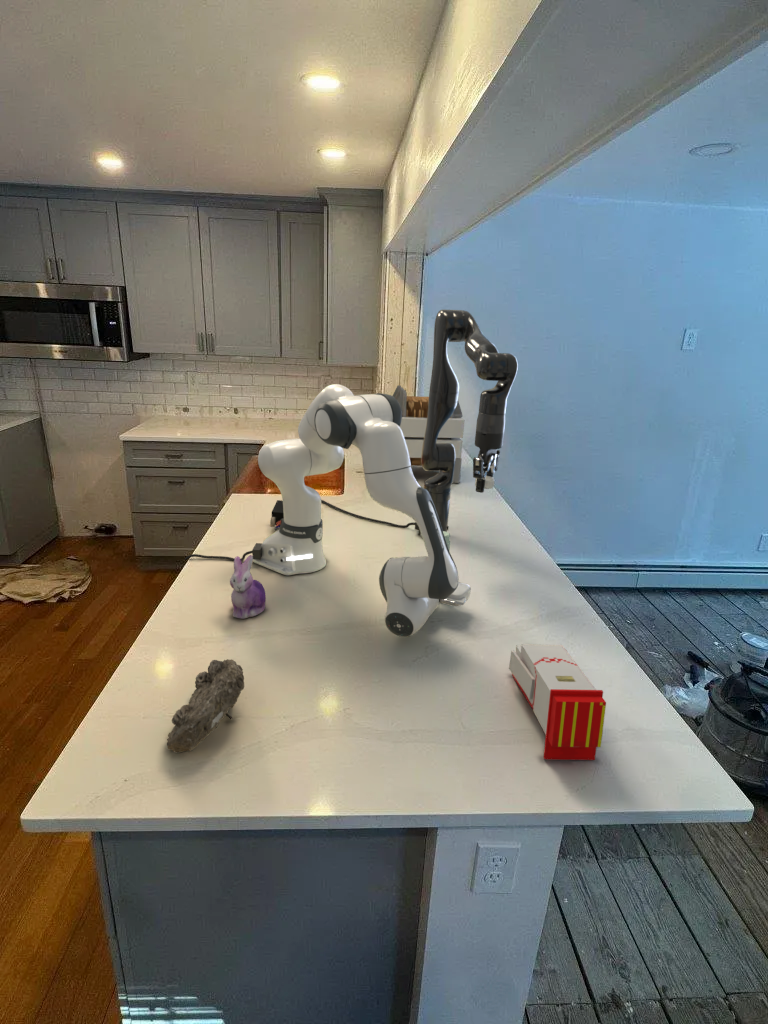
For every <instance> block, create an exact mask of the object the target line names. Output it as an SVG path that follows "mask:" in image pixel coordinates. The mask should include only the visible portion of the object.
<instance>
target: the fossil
mask: <svg viewBox="0 0 768 1024" xmlns="http://www.w3.org/2000/svg"><path fill="white" fill-rule="evenodd" d="M243 670H244V669H243V667H242V665H240V664H237V662H236V661H235V660H234V659H232V658H231V659H227V658H226V659H224V660H223V661H222V660H217V659H212V660H211V661H210V663H209V665H208V666H207V671H201V672H199V673H198V674H197V675H196V676H195V680H194V684H195V685H194V687H195V689H194V690H193V693H192V694H191V697H190V698H189V700H188V704H184V705H182V706H181V707H180V709H177V710H176V711H175V713H174V715H173V716H172V718H171V723H172V724H173V727H172V730H171V731H170V732H168V734H167V738H166V741H167V742H166V745H167V749H168V750H169V751H173V752H174V753H176V754H178V753H182V752H188V751H189V752H192V751H193V750H195V748H196V747H197V746H199V744H200V743H201V742H203V741H204V740H205V739H206V738H207V737H208V736H209V735H210V734H211V733H212V732H214V730H215V729H217V727H218V726H219V724H220V722H221V721H222V720H223V719H224V718H225V716H226V717H227V719H229V720H233V717H232V715H230V714H229V710H230V709H231V708H234V706H235V704H236V703H237V702H238V699H239V697H240V695H241V693H242V691H243V690H245V689H244V688H245V675H244V671H243Z"/></svg>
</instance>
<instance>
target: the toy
mask: <svg viewBox="0 0 768 1024" xmlns="http://www.w3.org/2000/svg"><path fill="white" fill-rule="evenodd" d="M510 651H511V653H510V658H509V659H510V660H509V666H508V669H509V671H510V672H511V676H512V678H513V679H514V681H515V682H516V685H517V686H518V688H519V690H520V691H521V692H522V694H523V697H525V699H526V701H527V703H528V704H529V706H530V708H531V709H532V711H533V713H534V715H535V717H536V719H537V721H538V723H539V725H540V727H541V728H542V731H543V732H544V734H545V739H544V750H543V760H555V761H557V760H560V761H561V760H562V761H563V760H564V761H565V760H567V761H570V760H571V761H595V760H596V754H597V748H601V746H602V740H603V738H602V737H603V732H604V723H605V716H606V707H607V701H606V700H605V698H603V696H604V691H603V690H602V689H597V688H596V687H595V686H594V684H593V683H592V682H591V681H590V679H589V677H587V675H586V674H585V673H584V671H583V670H582V669H581V667H580V666H579V664H578V663H576V660H574V659H573V658H572V656H571V655H570V653H569V652H568V650H567V649H566V648H565V647H564V645H562V644H529V643H525V644H524V643H523V644H522V643H521V645H520V644H519V645H518V644H517V645H515V650H514V649H513V650H510Z"/></svg>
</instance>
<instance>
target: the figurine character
mask: <svg viewBox="0 0 768 1024" xmlns="http://www.w3.org/2000/svg"><path fill="white" fill-rule="evenodd" d="M283 518H284V511H283V500H281V499H279V500H276V501H275V504H274V505H273V508H272V510H271V517H270V520H269V521H270V522H269V526H270V527H271V528H272V527H273V528H274V531H275V532H276V531H278V529H279V528H280V525H278V526H276V525H277V524H278V523H277V522H279V521H280V520H281V519H283ZM276 523H277V524H276Z"/></svg>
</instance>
